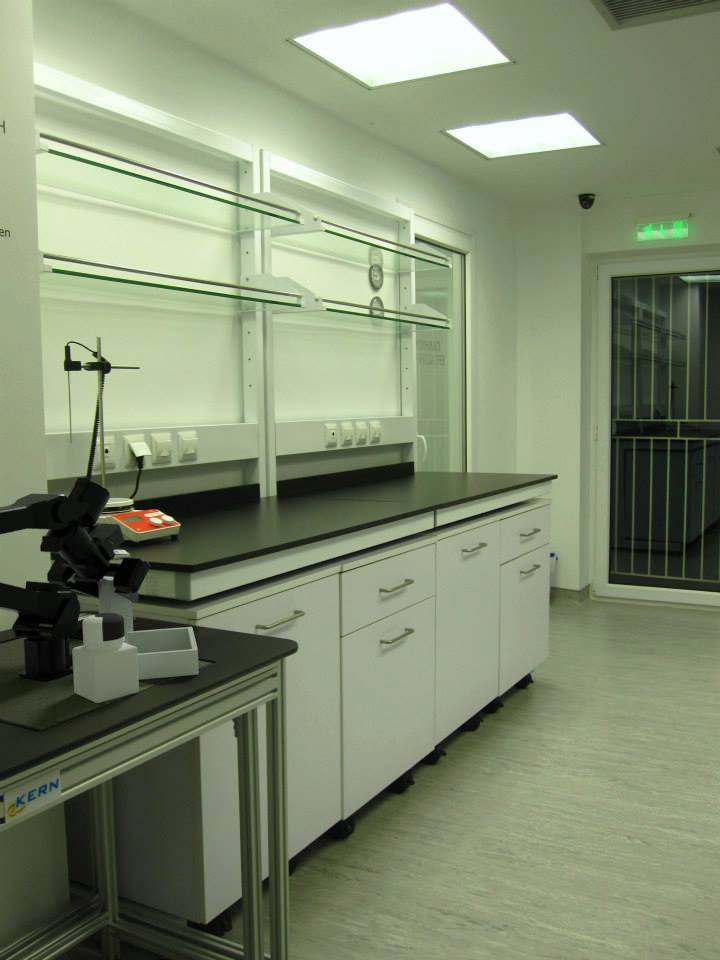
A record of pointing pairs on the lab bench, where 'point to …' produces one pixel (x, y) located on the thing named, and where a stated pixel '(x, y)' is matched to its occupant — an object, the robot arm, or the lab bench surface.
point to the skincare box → (115, 603)
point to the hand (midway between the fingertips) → (120, 598)
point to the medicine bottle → (105, 660)
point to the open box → (165, 652)
